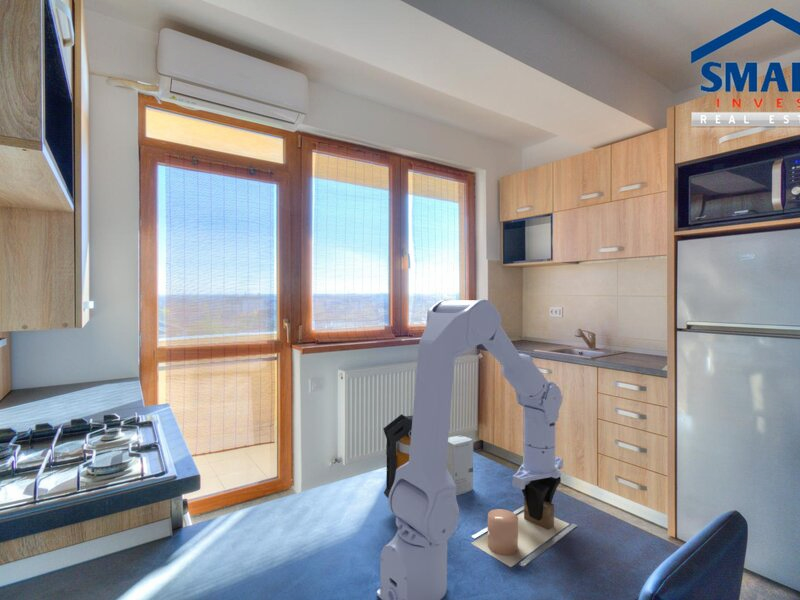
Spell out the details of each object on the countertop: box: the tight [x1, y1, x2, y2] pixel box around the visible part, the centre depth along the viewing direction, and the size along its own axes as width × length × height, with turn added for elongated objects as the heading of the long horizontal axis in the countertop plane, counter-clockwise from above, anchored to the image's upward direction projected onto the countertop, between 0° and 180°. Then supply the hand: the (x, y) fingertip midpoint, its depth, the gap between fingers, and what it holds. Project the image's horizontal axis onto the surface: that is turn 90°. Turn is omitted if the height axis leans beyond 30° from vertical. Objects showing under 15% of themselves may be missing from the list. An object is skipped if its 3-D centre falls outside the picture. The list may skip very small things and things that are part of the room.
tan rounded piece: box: [487, 508, 518, 556], centre depth 68 cm, size 5×5×5 cm
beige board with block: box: [470, 497, 570, 568], centre depth 71 cm, size 19×8×5 cm, turn 130°
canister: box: [382, 414, 413, 499], centre depth 79 cm, size 9×11×20 cm
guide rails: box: [470, 505, 578, 568], centre depth 72 cm, size 18×10×1 cm, turn 130°
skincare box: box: [446, 434, 474, 496], centre depth 88 cm, size 6×4×12 cm
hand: (538, 515), depth 75 cm, fingers closed on beige board with block, 2 cm apart
